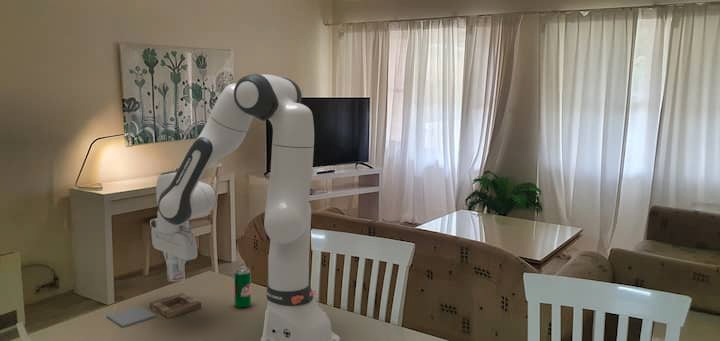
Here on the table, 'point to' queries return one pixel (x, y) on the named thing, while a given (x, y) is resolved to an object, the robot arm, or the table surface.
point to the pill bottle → (173, 269)
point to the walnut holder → (168, 312)
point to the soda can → (242, 287)
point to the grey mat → (131, 316)
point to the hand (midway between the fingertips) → (175, 268)
